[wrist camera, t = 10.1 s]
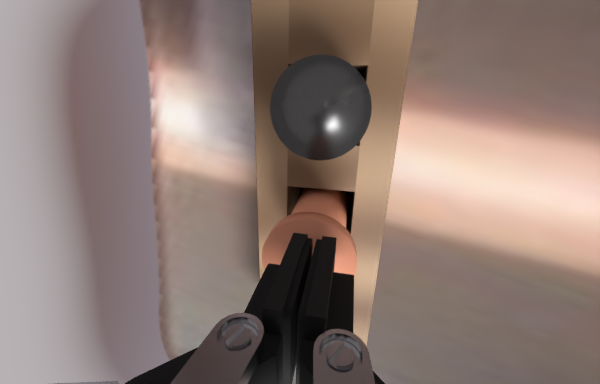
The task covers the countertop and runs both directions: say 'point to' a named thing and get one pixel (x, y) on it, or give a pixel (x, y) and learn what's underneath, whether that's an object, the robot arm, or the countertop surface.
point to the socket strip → (374, 144)
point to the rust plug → (315, 228)
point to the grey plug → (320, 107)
